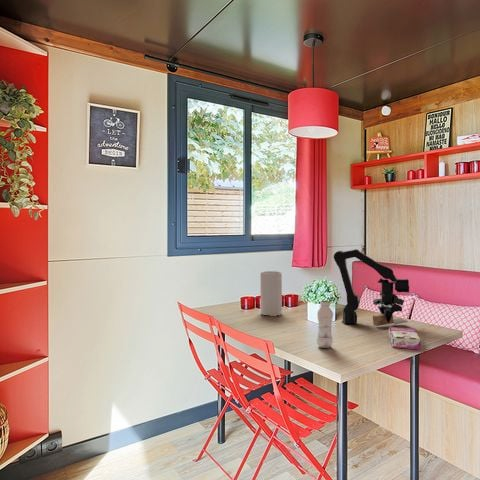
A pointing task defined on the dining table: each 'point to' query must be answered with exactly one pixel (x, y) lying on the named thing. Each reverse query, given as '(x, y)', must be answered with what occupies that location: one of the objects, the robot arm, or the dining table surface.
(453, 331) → the dining table surface
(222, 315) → the dining table surface
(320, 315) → the plastic bottle
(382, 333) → the dining table surface
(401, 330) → the candy bar box
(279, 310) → the cylinder vase
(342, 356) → the dining table surface
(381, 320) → the turner
